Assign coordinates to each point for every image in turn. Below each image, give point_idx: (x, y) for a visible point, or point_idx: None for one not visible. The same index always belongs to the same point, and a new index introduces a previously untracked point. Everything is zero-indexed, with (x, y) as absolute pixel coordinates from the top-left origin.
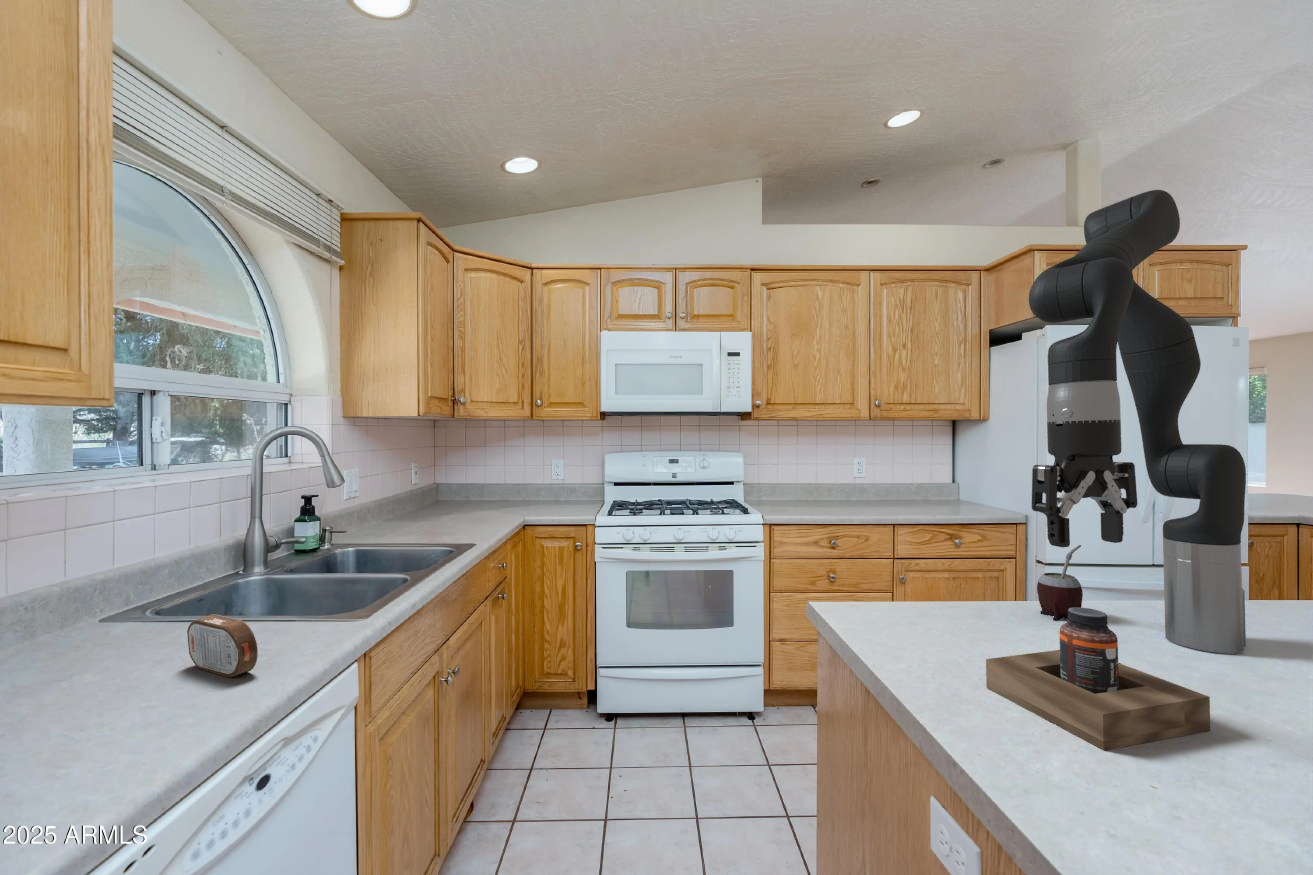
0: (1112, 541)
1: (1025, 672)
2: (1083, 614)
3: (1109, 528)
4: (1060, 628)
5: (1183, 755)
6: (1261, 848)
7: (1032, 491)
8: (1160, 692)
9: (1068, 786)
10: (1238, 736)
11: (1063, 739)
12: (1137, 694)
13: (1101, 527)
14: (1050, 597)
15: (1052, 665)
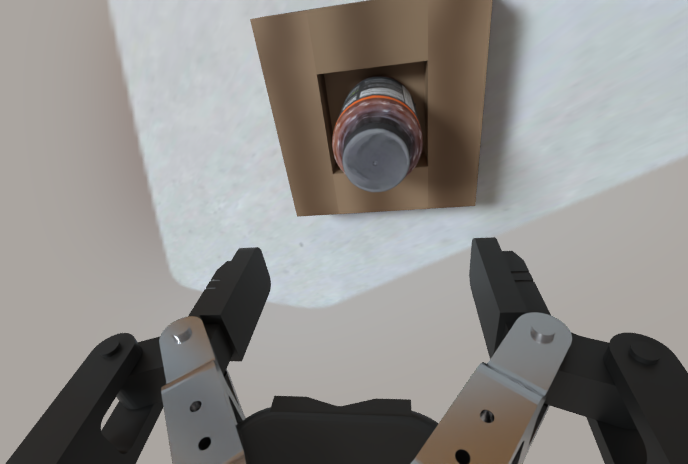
0: (471, 266)
1: (285, 92)
2: (350, 177)
3: (480, 292)
4: (340, 120)
5: (378, 215)
6: (312, 298)
7: (40, 423)
8: (424, 185)
9: (229, 232)
10: (482, 198)
11: (279, 171)
12: None
13: (482, 266)
14: None
15: (355, 69)
